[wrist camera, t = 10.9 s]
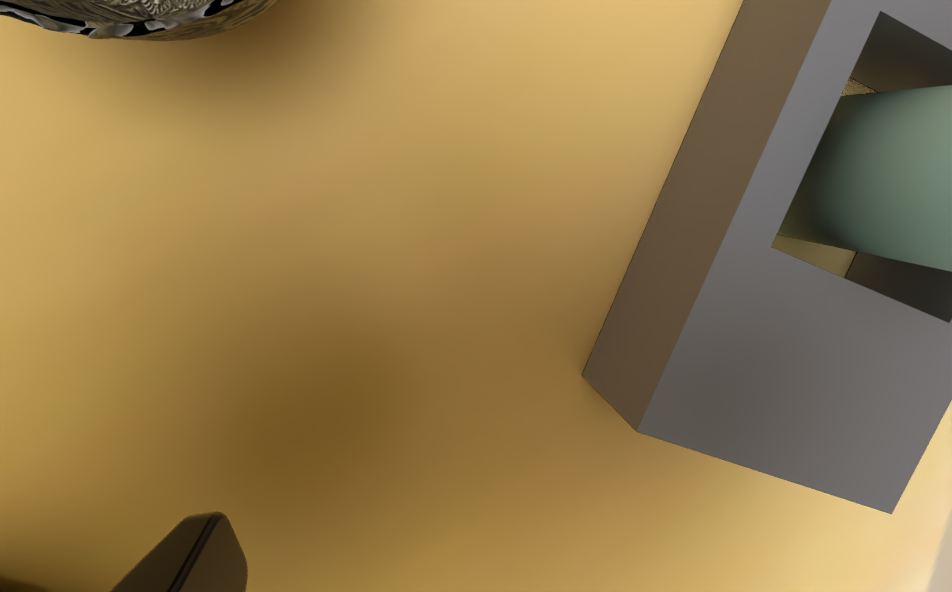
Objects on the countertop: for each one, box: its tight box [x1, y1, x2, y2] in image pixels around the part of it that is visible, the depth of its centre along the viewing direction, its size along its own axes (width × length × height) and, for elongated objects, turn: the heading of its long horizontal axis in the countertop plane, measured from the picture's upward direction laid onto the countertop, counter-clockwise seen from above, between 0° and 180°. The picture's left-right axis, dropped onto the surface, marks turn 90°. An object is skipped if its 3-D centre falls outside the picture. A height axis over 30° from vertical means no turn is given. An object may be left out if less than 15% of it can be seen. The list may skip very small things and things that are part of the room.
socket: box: [582, 0, 952, 514], centre depth 18 cm, size 12×8×4 cm, turn 158°
